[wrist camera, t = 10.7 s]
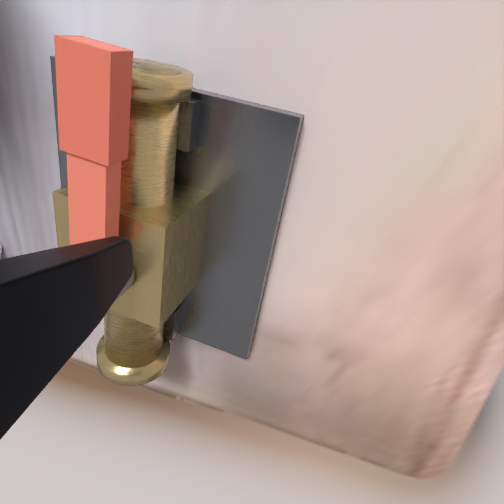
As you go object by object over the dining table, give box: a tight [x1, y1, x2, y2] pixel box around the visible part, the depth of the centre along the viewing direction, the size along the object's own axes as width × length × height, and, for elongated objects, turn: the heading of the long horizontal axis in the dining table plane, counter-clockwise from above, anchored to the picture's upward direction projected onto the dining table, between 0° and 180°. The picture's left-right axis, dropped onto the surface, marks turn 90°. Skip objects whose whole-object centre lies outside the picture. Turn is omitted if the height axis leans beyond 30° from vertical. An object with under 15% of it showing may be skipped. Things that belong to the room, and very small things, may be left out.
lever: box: [54, 35, 134, 302], centre depth 17 cm, size 12×3×2 cm, turn 168°
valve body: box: [50, 56, 304, 386], centre depth 22 cm, size 18×14×6 cm
